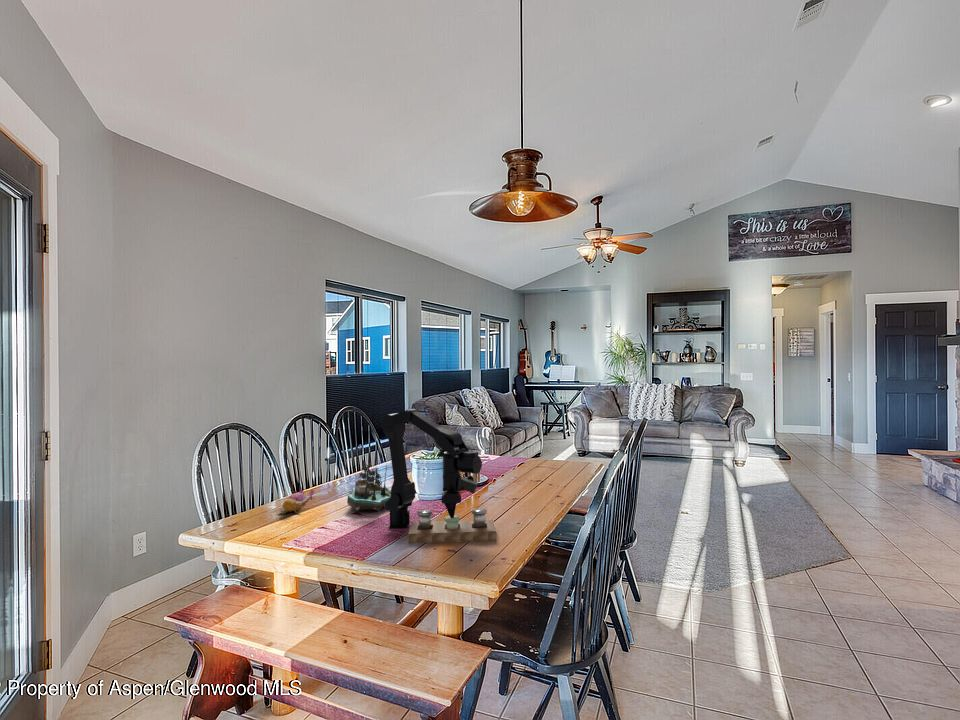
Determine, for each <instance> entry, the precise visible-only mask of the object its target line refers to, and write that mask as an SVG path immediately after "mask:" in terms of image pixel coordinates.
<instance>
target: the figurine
mask: <svg viewBox="0 0 960 720" xmlns="http://www.w3.org/2000/svg"><path fill="white" fill-rule="evenodd" d="M314 493H315V490H313V489H311V490H310V491H309V494H308V495H307V494H305V492H304V490H302V489H300V490H299V492H295V493H292V494H291V495H290V496H289V497H288V496H285V497H284V498H283V499H282V501H284V502H283V504H282V508H283V510H284V511H281V512H280V513H278V514H277V516H279V515H284V514H287V513H293V512H295V514H297V515H300V513H299V512H298V511H297V510H299V509H301V508H303V507H306V504H304V503H305V502H306V501H307V500H311V498H312V497H313V495H314ZM287 498H288V499H287Z"/></svg>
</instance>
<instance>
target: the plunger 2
mask: <svg viewBox="0 0 960 720" xmlns="http://www.w3.org/2000/svg"><path fill="white" fill-rule="evenodd" d="M487 512H488V510H487V509H486V508H482V507H481V508H480V507H479V508H473V509H471V514H472V517H473V520H472V521H473V525H474V526H485V520H486V514H487Z"/></svg>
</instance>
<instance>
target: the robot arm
mask: <svg viewBox="0 0 960 720" xmlns="http://www.w3.org/2000/svg"><path fill="white" fill-rule="evenodd" d="M380 423H381V424H380V425H381V428H382V431H383V434H384V435H385V437H386V438H387V440H388V443H389V445H388V446H389V453H390V461H391V467H392V475H393V483H392V485H391V488H390V490H391V498H390V499H389V500H388V501H387V502H386V503H385V510H386V511H389V525H388V528H389V529H401V528H403V529H404V528H405V529H406V528H408V527H409V525H411V524H410V523H411V511H410V510H409V507H412V504H413V501H414V500H415V499H416V494H417V491H416V483H415V482H414V481H413V482H412V481H411V480H410V479H409V477H408V468H407V462H406V455H405V454H406V452H405V445H404V439H403V438H404V435H405V431H406V424H409V423H410V424H412V425H413V426H415V427H416V428H417V429H419V430H421V432H423V433H425V434H427V435H428V436H429V437H431V438H432V439H433V440H434V442H435V444H436V445H437V446H438V447H439V448H440V449H441V450H440V451H439V452H438V453H437V454H436V457H440V458H441V457H442V492H443V493H442V494H441V504H443V505H444V506H445V508H446V511H447V513H448V516H450V518H454V515H456V514H455V513H456V507H457V504H460V503H462V494H461V493H462V490H464V491H467V492H469V493H471V494H475V493H476V489H477V487H478V481H476V480H475V479H474V476H473V475H471V474H475V475H476V474H477V475H478V474H479V473H480V472H481V471H482V466H483V462H482V459H481V457H480V456H479V452H477V451H472V452H471V451H470V450H469V447H467V445H466V444H465V442H464V440H463V438H462V437H463V436H462V435H461V434H460V433H459V432H458V431H455V430H453V429H450V428H445V427H443V426H441V425H439V424H437V423H436V422H435V421H433V420H431V419H430V418H429V417H427V416H426V415H424V414H422V413H421V412H419V410H418V409H416V408H409V409H406V410H403V411H401V412H395V413H390V414H385V415H384V416H383V417H382V418H381V421H380ZM462 473H466V474H467V473H468V474H469V475H467V477H466V476H465V477H463V476H462Z"/></svg>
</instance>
